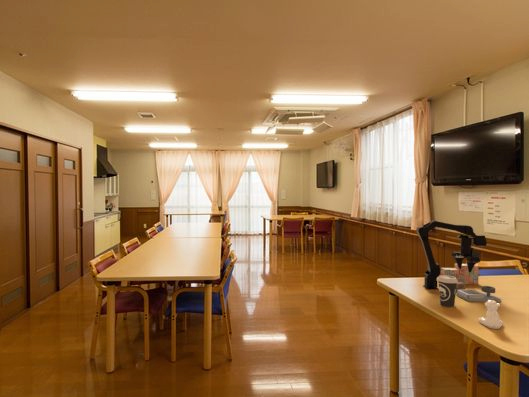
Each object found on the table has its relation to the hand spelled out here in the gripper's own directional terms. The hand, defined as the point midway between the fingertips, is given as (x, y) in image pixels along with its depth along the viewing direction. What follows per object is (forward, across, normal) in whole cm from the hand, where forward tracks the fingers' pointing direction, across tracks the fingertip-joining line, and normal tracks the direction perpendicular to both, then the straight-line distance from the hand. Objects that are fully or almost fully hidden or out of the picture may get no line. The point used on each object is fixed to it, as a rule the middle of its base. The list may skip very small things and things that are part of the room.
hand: (464, 270), depth 198 cm
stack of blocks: (+12, +17, -8) cm, 22 cm away
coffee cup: (+13, -26, +27) cm, 40 cm away
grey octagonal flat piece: (+8, -16, -3) cm, 18 cm away
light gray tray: (+12, -16, +3) cm, 20 cm away
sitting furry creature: (+12, -54, +24) cm, 61 cm away
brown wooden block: (+12, -4, +7) cm, 15 cm away
